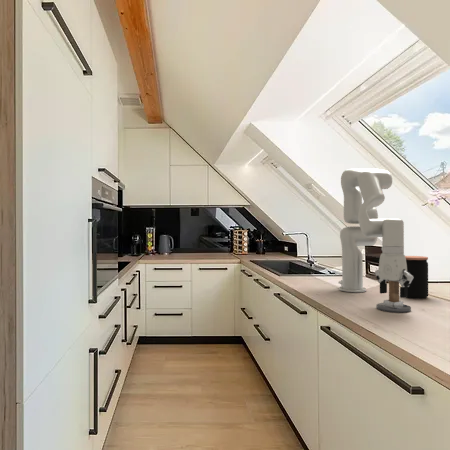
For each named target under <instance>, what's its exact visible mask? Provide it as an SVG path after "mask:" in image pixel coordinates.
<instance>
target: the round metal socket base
mask: <svg viewBox="0 0 450 450" xmlns="http://www.w3.org/2000/svg"><path fill="white" fill-rule="evenodd" d="M376 309H377V310H378V311H382V312H387V313H395V314H407V313H410V312H412V307H411V306H410V305H408V304H404V301H402V300H399V302H391V301H389V299H383V302H378V303H377V304H376Z"/></svg>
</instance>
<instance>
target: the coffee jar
mask: <svg viewBox="0 0 450 450" xmlns="http://www.w3.org/2000/svg"><path fill="white" fill-rule="evenodd" d="M405 258H406V263H407V272H408V273H410V274H411V275H412V276H413V277H414V278H413V280H412V283H411V284H410V285H409V287H408V297H407V298H406V299H413V300H414V299H415V300H424V299H427V298H428V297H429V262H428V260H429V257H428V256H422V255H421V256H420V255H405ZM403 283H404V282H403Z"/></svg>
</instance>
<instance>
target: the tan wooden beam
mask: <svg viewBox="0 0 450 450" xmlns="http://www.w3.org/2000/svg"><path fill="white" fill-rule="evenodd" d="M388 300H389V301H391V302H399V301H400V283H399V282H398V281H389V280H388Z"/></svg>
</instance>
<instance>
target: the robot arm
mask: <svg viewBox="0 0 450 450" xmlns="http://www.w3.org/2000/svg"><path fill="white" fill-rule="evenodd" d="M392 184H393V177H392V174H391V172H390V171H388V170H387V169H386V170H385V169H381V168H380V169H379V168H349V169H346V170H344V171H343V172H342V173H341V177H340V187H341V189H342V192H343V193H342V194H343V220H344V222H345V223H346V224H350V225H351V224H352V225H353V224H355V225H359V226H346V227H343V228H342V229H341V230H340V233H339V239H340V244H341V260H342V261H341V262H342V263H341V264H342V268H341V270H342V274H341V276H342V278H341V280H339V281H338V284H339V285H341V286H339V287H338V289H339V291H341V292H346V293H363V292H366V291H367V288H366V287H363V285H364V284H363V282H364V280H363V279H364V278H363V275H364V273H363V270H364V269H363V261H364V260H363V253H362V251H361V250H360V249H359V247H361V246H362V247H363V246H364V247H365V246H370V247H371V246H373V245H375V244H376V243H377V241H378V238H382V245H381V246H382V247H381V248H380V249H381V250H380V251H382V253H380V257H379V260H378V262H379V263H378V269H377V270H375V271H374V274H375V277H376V279H377V281H378V283H379V294H381V295H382V294H387V293H388V283H387V281H388V282H389V281H398V282H399V299H405V298H406V299H408V298H407V297H408V287H409V285H410V284H411V283H412V280H413V278H414V277H413V276H412V275H411V274H410V273H408V272H407V263H406V258H405V256H406V255H405V250H404V249H405V237H404V235H405V234H404V233H405V230H404V229H405V222H404V220H403V219H401V218H379V215H378V210H377V207H378V206H380V205H381V204H383V203H384V201H385V199H386V196H385V194H384V192H383V190H388V189H390V188H391V187H392ZM403 282H404V283H403Z"/></svg>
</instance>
